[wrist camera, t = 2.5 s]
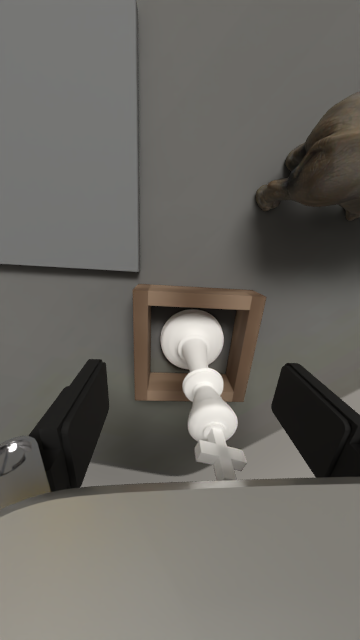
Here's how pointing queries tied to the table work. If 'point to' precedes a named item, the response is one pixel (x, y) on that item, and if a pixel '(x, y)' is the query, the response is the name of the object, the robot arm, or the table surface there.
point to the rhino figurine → (323, 164)
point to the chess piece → (204, 388)
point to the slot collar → (195, 297)
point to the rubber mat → (69, 134)
